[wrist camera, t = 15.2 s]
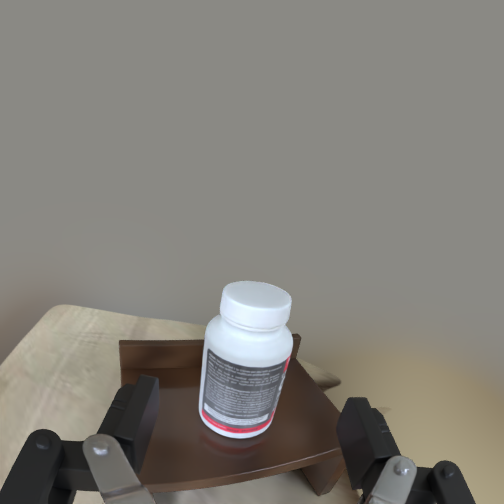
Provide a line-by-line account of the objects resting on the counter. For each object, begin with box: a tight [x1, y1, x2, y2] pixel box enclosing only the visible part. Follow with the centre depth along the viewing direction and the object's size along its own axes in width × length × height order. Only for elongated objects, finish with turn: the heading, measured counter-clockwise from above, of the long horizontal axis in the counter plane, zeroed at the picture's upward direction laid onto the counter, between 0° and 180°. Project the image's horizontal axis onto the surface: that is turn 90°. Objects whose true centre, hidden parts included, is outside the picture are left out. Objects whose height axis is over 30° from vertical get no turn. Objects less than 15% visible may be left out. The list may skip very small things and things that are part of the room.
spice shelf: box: [119, 334, 346, 499], centre depth 22 cm, size 16×12×10 cm
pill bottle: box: [199, 281, 293, 438], centre depth 19 cm, size 5×5×10 cm
